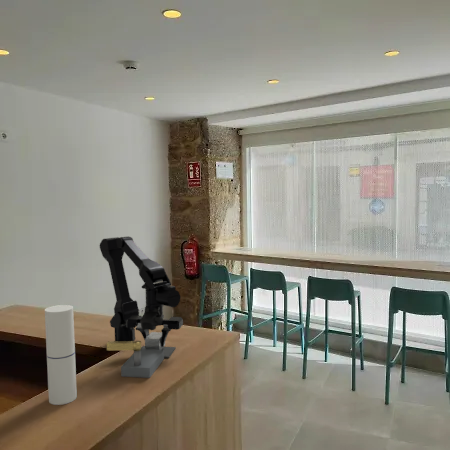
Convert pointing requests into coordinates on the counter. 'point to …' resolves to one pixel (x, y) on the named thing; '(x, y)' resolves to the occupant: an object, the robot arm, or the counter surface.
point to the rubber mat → (166, 351)
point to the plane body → (142, 363)
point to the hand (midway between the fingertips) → (155, 346)
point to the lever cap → (154, 341)
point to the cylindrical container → (60, 354)
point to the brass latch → (124, 345)
